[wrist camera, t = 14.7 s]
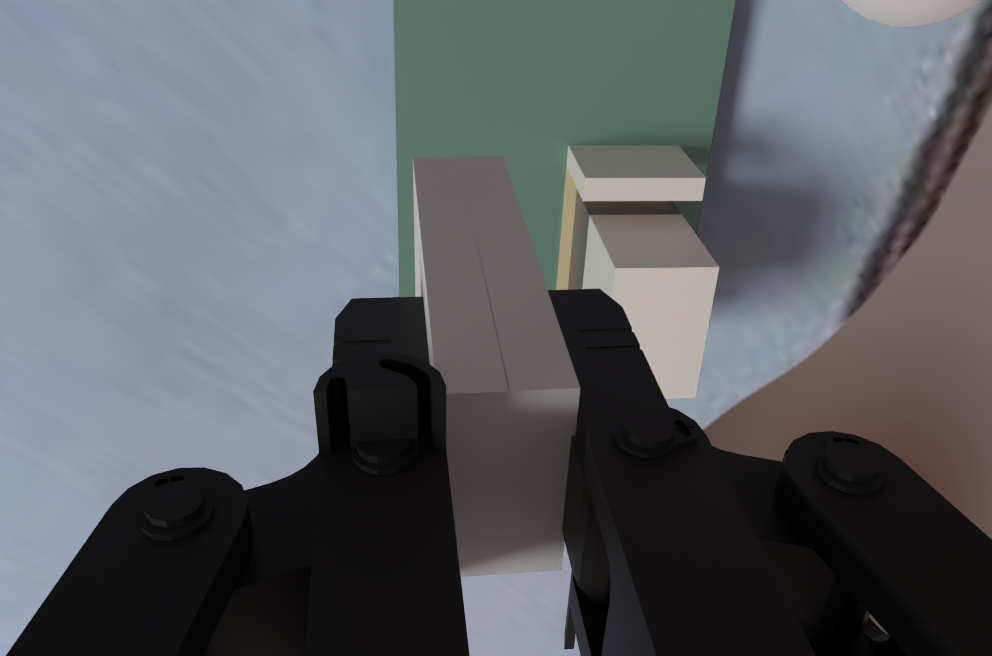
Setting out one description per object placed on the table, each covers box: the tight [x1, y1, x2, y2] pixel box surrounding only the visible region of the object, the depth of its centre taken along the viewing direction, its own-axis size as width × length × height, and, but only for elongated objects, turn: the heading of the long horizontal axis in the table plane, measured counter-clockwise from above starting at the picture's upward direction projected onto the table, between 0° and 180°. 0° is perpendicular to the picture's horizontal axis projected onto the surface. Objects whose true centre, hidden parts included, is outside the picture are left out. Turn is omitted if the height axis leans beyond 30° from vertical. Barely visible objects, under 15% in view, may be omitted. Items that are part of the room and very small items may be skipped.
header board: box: [394, 0, 736, 297], centre depth 38 cm, size 17×14×6 cm
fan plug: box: [568, 190, 719, 399], centre depth 38 cm, size 6×4×8 cm, turn 178°
